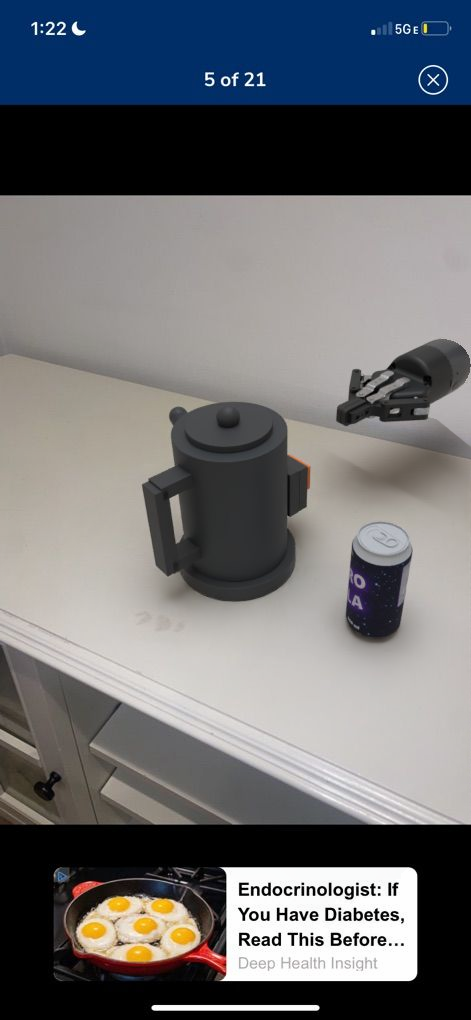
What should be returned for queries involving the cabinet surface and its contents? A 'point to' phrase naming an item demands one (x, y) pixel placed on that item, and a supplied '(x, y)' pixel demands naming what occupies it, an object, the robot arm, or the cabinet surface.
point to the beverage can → (378, 578)
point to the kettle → (228, 501)
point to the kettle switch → (308, 471)
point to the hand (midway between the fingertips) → (341, 417)
